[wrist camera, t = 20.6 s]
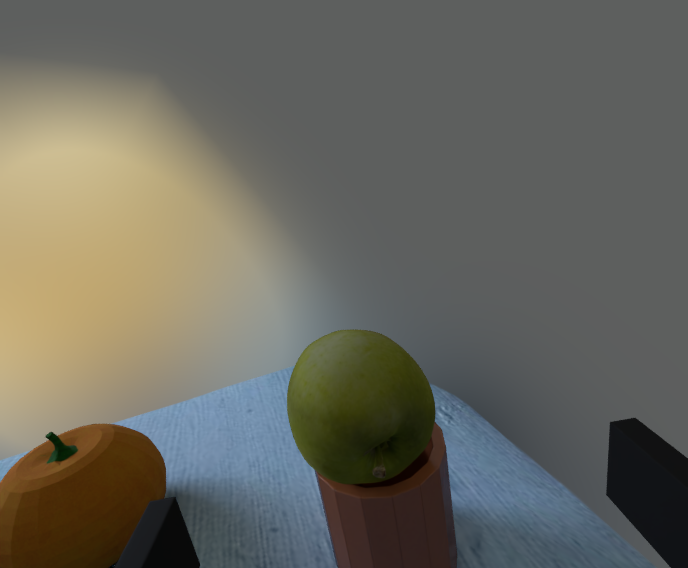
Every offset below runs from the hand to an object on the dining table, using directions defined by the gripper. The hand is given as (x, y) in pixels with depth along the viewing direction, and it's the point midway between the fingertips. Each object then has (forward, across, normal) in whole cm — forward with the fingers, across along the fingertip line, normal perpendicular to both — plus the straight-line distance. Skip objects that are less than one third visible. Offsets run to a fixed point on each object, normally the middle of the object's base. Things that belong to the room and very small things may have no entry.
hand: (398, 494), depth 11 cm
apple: (+10, 0, -7) cm, 12 cm away
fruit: (+15, -23, -15) cm, 32 cm away
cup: (+10, 0, -15) cm, 18 cm away
